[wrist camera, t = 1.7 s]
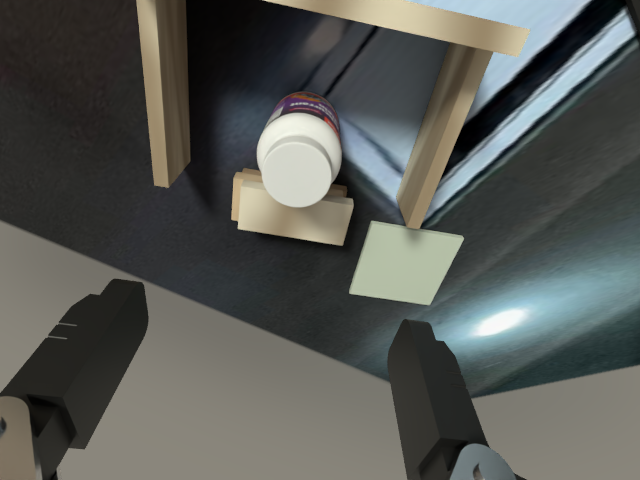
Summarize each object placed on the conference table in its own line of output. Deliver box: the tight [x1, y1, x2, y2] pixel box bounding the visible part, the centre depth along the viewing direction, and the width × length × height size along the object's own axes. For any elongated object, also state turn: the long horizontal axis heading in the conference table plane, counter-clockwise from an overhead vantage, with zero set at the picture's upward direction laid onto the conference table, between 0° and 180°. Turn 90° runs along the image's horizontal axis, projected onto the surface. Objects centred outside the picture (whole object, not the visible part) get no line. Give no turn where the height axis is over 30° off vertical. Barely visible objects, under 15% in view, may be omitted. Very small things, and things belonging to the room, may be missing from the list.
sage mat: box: [349, 221, 464, 305], centre depth 35 cm, size 9×9×1 cm
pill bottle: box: [257, 91, 342, 207], centre depth 23 cm, size 5×5×10 cm
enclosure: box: [137, 0, 530, 229], centre depth 23 cm, size 20×14×8 cm
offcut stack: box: [231, 168, 354, 246], centre depth 30 cm, size 10×4×4 cm, turn 79°
